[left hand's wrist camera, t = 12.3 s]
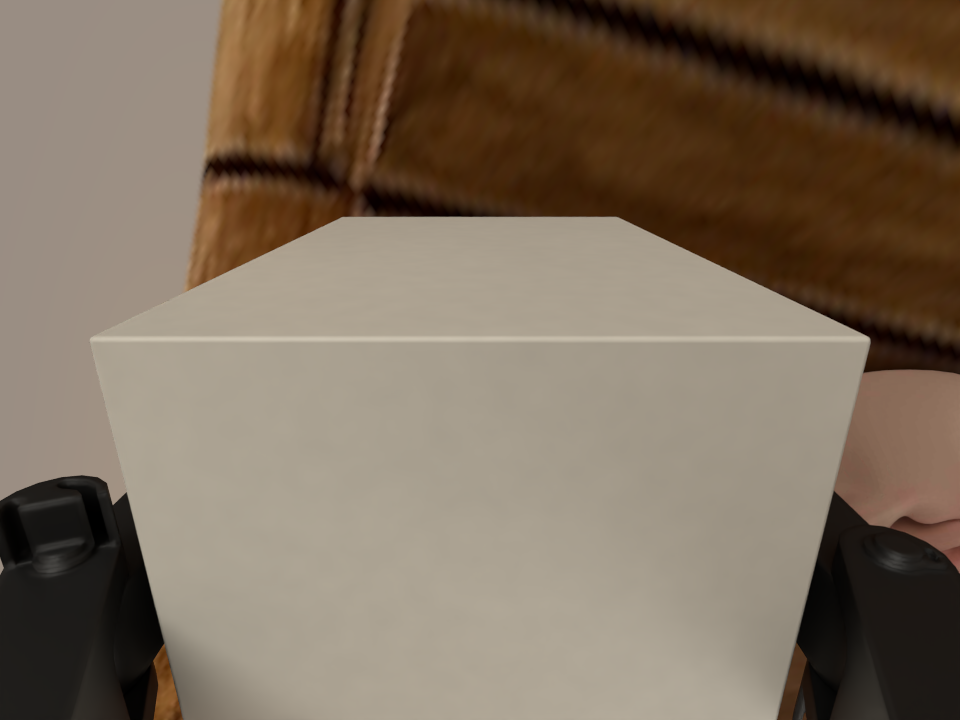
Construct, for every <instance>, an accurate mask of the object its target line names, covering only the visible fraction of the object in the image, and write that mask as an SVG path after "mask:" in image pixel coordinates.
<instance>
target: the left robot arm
mask: <svg viewBox="0 0 960 720" xmlns="http://www.w3.org/2000/svg"><path fill="white" fill-rule="evenodd" d="M0 558H1V561H2V564H3V567H4V569H3V571H2V573H1V575H0V720H153V719H154V712H155V705H156V697H157V690H158V681H157V674H156V670H155V666H154V662H153V660H154V658H155V657H156V655H157V654H158V652H159V651H160V649H161V647H162V646H163V644H164V640H163V636H162V632H161V628H160V624H159V620H158V616H157V612H156V608H155V604H154V600H153V596H152V592H151V587H150V583H149V579H148V575H147V571H146V567H145V563H144V559H143V555H142V551H141V547H140V543H139V539H138V535H137V531H136V527H135V523H134V519H133V515H132V511H131V507H130V503H129V499H128V495H127V492H126V493H125V494H124V495H123V496H122V497H121V498H120V499H119V500H118V501H117V502H116V503H115V504H114V505H112V501H111V497H110V494H109V490H108V486H107V483H106V482H104V481H103V480H101V479H100V478H98V477H91V476H83V475H81V476H70V477H61V478H57V479H53V480H48V481H44V482H40V483H37V484H35V485H32V486H29V487H27V488H24V489H22V490H19V491H17V492H15V493H13V494H11V495H10V496H8V497H6V498H4V499H3V500H1V501H0ZM796 642H797V643H798V645H799V647H800V648H801V650H802V651H803V653H804V654H805V656H806V657H807V662H806V666H805V670H804V674H803V677H802V681H801V685H800V689H799V693H798V697H797V700H796V704H795V708H794V713H793V719H792V720H802V718H803V715H804V713H805V712H806V717H807V720H960V573H959V572H958V570H957V568H956V567H955V565H954V564H953V563H952V562H951V561H950V560H949V558H948V557H947V556H946V555H945V554H944V553H942V552H941V551H939V550H938V549H936V548H935V547H933V546H932V545H930V544H929V543H928V542H926V541H923V540H921V539H919V538H917V537H915V536H912V535H910V534H908V533H906V532H902V531H899V530H895V529H892V528H888V527H885V526H876V525H869V524H868V523H867V522H866V521H865V520H864V519H863V518H862V517H861V516H860V515H859V514H858V513H857V512H856V511H855V510H854V509H853V508H852V507H851V506H850V505H849V504H848V503H847V502H845V501H844V500H843V499H842V498H841V497H840V496H839V495H838V494H837V493H836V492H835V491H834V492H833V496H832V500H831V504H830V508H829V512H828V516H827V520H826V524H825V528H824V532H823V536H822V540H821V544H820V548H819V552H818V556H817V560H816V564H815V568H814V572H813V576H812V580H811V584H810V588H809V592H808V596H807V600H806V604H805V608H804V612H803V616H802V620H801V624H800V628H799V632H798V636H797V640H796Z"/></svg>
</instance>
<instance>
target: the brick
mask: <svg viewBox="0 0 960 720" xmlns="http://www.w3.org/2000/svg"><path fill="white" fill-rule="evenodd" d="M870 343H871V342H870V338H869V337H868V336H865V335H863V334H861V333H859V332H857V331H855V330H853V329H851V328H849V327H847V326H844V325H842V324H840V323H838V322H836V321H834V320H832V319H830V318H828V317H826V316H823V315H821V314H819V313H817V312H815V311H813V310H811V309H809V308H807V307H805V306H803V305H800V304H798V303H796V302H794V301H792V300H790V299H788V298H786V297H784V296H782V295H779V294H777V293H775V292H773V291H771V290H769V289H767V288H765V287H763V286H761V285H758V284H756V283H754V282H752V281H750V280H748V279H746V278H744V277H742V276H740V275H738V274H735V273H733V272H731V271H729V270H727V269H725V268H723V267H721V266H719V265H717V264H714V263H712V262H710V261H708V260H706V259H704V258H702V257H700V256H698V255H696V254H693V253H691V252H689V251H687V250H685V249H683V248H681V247H679V246H677V245H675V244H673V243H670V242H668V241H666V240H664V239H662V238H660V237H658V236H656V235H654V234H652V233H649V232H647V231H645V230H643V229H641V228H639V227H637V226H635V225H633V224H631V223H628V222H626V221H624V220H622V219H620V218H618V217H342V218H340V219H338V220H336V221H334V222H332V223H329V224H327V225H325V226H323V227H321V228H319V229H317V230H315V231H313V232H311V233H308V234H306V235H304V236H302V237H300V238H298V239H296V240H294V241H292V242H290V243H288V244H285V245H283V246H281V247H279V248H277V249H275V250H273V251H271V252H269V253H267V254H264V255H262V256H260V257H258V258H256V259H254V260H252V261H250V262H248V263H246V264H244V265H241V266H239V267H237V268H235V269H233V270H231V271H229V272H227V273H225V274H223V275H220V276H218V277H216V278H214V279H212V280H210V281H208V282H206V283H204V284H202V285H200V286H197V287H195V288H193V289H191V290H189V291H187V292H185V293H183V294H181V295H179V296H177V297H174V298H172V299H170V300H168V301H166V302H164V303H162V304H160V305H158V306H156V307H153V308H151V309H149V310H147V311H145V312H143V313H141V314H139V315H137V316H135V317H133V318H130V319H128V320H126V321H124V322H122V323H120V324H118V325H116V326H114V327H112V328H109V329H107V330H105V331H103V332H101V333H99V334H97V335H95V336H93V337H91V338H90V346H91V350H92V354H93V358H94V362H95V366H96V370H97V374H98V378H99V382H100V386H101V390H102V394H103V398H104V402H105V406H106V410H107V414H108V418H109V423H110V427H111V430H112V435H113V439H114V443H115V446H116V451H117V455H118V459H119V463H120V467H121V471H122V475H123V479H124V483H125V487H126V491H127V495H128V499H129V503H130V507H131V511H132V515H133V519H134V523H135V527H136V531H137V535H138V539H139V543H140V547H141V551H142V555H143V559H144V563H145V567H146V571H147V575H148V579H149V583H150V587H151V592H152V596H153V600H154V604H155V608H156V612H157V616H158V620H159V624H160V628H161V632H162V636H163V640H164V644H165V648H166V652H167V656H168V660H169V664H170V668H171V672H172V676H173V680H174V684H175V688H176V692H177V696H178V700H179V704H180V708H181V712H182V716H183V720H777V717H778V713H779V709H780V705H781V701H782V697H783V693H784V689H785V685H786V681H787V677H788V673H789V669H790V665H791V660H792V656H793V652H794V648H795V644H796V640H797V636H798V632H799V628H800V624H801V620H802V616H803V612H804V608H805V604H806V600H807V596H808V592H809V588H810V584H811V580H812V576H813V572H814V568H815V564H816V560H817V556H818V552H819V548H820V544H821V540H822V536H823V532H824V528H825V524H826V520H827V516H828V512H829V508H830V504H831V500H832V496H833V492H834V488H835V484H836V480H837V476H838V472H839V467H840V463H841V459H842V455H843V451H844V447H845V443H846V439H847V435H848V431H849V427H850V423H851V419H852V415H853V411H854V407H855V403H856V399H857V395H858V391H859V387H860V383H861V379H862V375H863V371H864V367H865V363H866V359H867V355H868V351H869V347H870Z"/></svg>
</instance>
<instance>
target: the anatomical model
mask: <svg viewBox="0 0 960 720" xmlns="http://www.w3.org/2000/svg"><path fill="white" fill-rule="evenodd" d="M834 491H835V492H836V493H837V494H838V495H839V496H840V497H841V498H842V499H843V500H844V501H845V502H847V503H848V504H849V505H850V506H851V507H852V508H853V509H854V510H855V511H856V512H857V513H858V514H859V515H860V516H861V517H862V518H863V519H864V520H865V521H866V522H867V523H868V524H869V525H876V526H885V527H888V528H892V529H895V530H899V531H902V532H906V533H908V534H910V535H912V536H915V537H917V538H919V539H921V540H923V541H926V542H928V543H929V544H930V545H932V546H933V547H935V548H936V549H938V550H939V551H941V552H942V553H944V554H945V555H946V556H947V557H948V558H949V560H950V561H951V562H952V563H953V564H954V565H955V567H956V568H957V570H958V572H959V573H960V375H959V374H955V373H949V372H941V371H933V370H884V371H875V372H866V373H863V375H862V379H861V383H860V387H859V391H858V395H857V399H856V403H855V407H854V411H853V415H852V419H851V423H850V427H849V431H848V435H847V439H846V443H845V447H844V451H843V455H842V459H841V463H840V467H839V472H838V476H837V480H836V484H835V488H834Z"/></svg>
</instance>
